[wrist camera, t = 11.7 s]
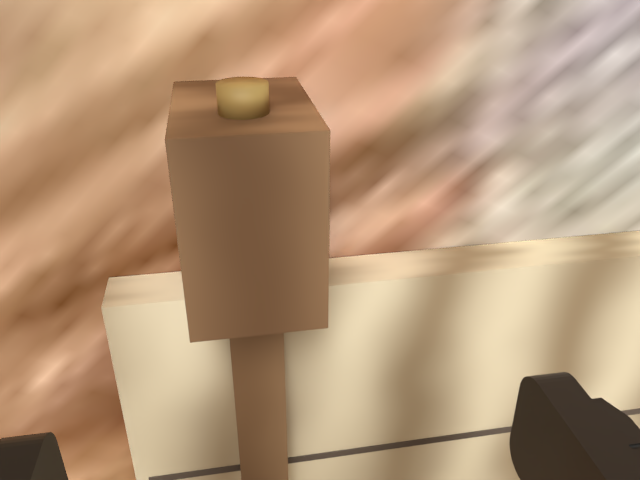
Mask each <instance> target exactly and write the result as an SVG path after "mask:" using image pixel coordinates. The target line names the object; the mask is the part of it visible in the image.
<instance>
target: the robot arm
mask: <svg viewBox="0 0 640 480" xmlns="http://www.w3.org/2000/svg"><path fill="white" fill-rule="evenodd" d="M509 444H510V454H511V458H512V462H513V465H514V468H515V470H516V473H517V475H518V477H519V478H520V480H640V428H639V427H638V426H637V425H636V424H635V423H634V421H633V420H632V419H631V418H630V417H629V416H627V415H626V414H625V413H623V412H622V411H620V410H619V409H617V408H616V407H614V406H613V405H611V404H610V403H608V402H607V401H606V400H604V399H603V398H594V399H591V398H590V396H589V395H588V394H587V393H586V391H585V390H584V389H583V388H582V386H581V385H580V384H579V383H578V381H577V380H576V379H575V378H574V377H573V376H572V375H571V374H570V373H568V372H559V373H550V374H542V375H534V376H526V377H524V378H523V379H522V381H521V383H520V387H519V392H518V397H517V402H516V408H515V413H514V418H513V423H512V428H511V433H510V442H509ZM0 480H68V477H67V474H66V470H65V467H64V463H63V460H62V457H61V453H60V450H59V446H58V443H57V440H56V437H55V435H54V434H53V433H51V432H48V433H40V434H32V435H24V436H15V437H7V438H2V439H0Z"/></svg>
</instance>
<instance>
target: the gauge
mask: <svg viewBox="0 0 640 480" xmlns="http://www.w3.org/2000/svg"><path fill="white" fill-rule="evenodd" d="M165 144H166V152H167V160H168V168H169V177H170V185H171V193H172V201H173V209H174V217H175V225H176V233H177V242H178V250H179V258H180V266H181V274H182V282H183V290H184V298H185V306H186V315H187V323H188V331H189V339H190V343H193V342H202V341H212V340H221V339H229V340H230V351H231V363H232V375H233V387H234V398H235V410H236V422H237V434H238V446H239V457H240V469H241V480H288V451H287V420H286V389H285V358H284V333H287V332H297V331H306V330H315V329H325V328H328V302H329V203H330V129H329V128H328V126H327V125H326V123H325V122H324V120H323V119H322V117H321V115H320V114H319V112H318V111H317V109H316V108H315V106H314V104H313V103H312V101H311V100H310V98H309V97H308V95H307V94H306V92H305V90H304V89H303V87H302V86H301V84H300V83H299V81H298V79H297V78H296V77H284V78H257V77H233V78H226V79H222V80H207V81H181V82H174V84H173V90H172V97H171V103H170V110H169V116H168V123H167V129H166V136H165Z"/></svg>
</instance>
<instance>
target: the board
mask: <svg viewBox="0 0 640 480" xmlns="http://www.w3.org/2000/svg"><path fill="white" fill-rule="evenodd" d="M101 309H102V314H103V319H104V323H105V328H106V333H107V338H108V343H109V348H110V353H111V358H112V363H113V368H114V373H115V378H116V383H117V387H118V392H119V397H120V402H121V407H122V412H123V417H124V422H125V427H126V432H127V437H128V442H129V446H130V451H131V456H132V461H133V466H134V471H135V476H136V480H241V469H240V457H239V446H238V434H237V422H236V410H235V398H234V387H233V375H232V363H231V351H230V340H229V339H221V340H212V341H202V342H193V343H190V339H189V331H188V323H187V315H186V306H185V298H184V290H183V282H182V274H181V271H180V272H168V273H157V274H146V275H135V276H123V277H112V278H109V279H108V283H107V287H106V291H105V295H104V299H103V303H102V307H101ZM284 358H285V389H286V420H287V451H288V480H520V478H519V477H518V475H517V473H516V470H515V468H514V465H513V462H512V458H511V454H510V444H509V442H510V433H511V428H512V423H513V418H514V413H515V408H516V402H517V397H518V392H519V387H520V383H521V381H522V379H523V378H524V377H526V376H534V375H542V374H550V373H559V372H568V373H570V374H571V375H572V376H573V377H574V378H575V379H576V380H577V381H578V383H579V384H580V385H581V386H582V388H583V389H584V390H585V391H586V393H587V394H588V395H589V396H590V398H591V399H594V398H603V399H604V400H606V401H607V402H608V403H610V404H611V405H613V406H614V407H616V408H617V409H619V410H620V411H622V412H623V413H625V414H626V415H627V416H629V417H630V418H631V419H632V420H633V421H634V423H635V424H636V425H637V426H638V427H639V428H640V231H631V232H620V233H609V234H597V235H586V236H575V237H563V238H552V239H541V240H530V241H518V242H507V243H496V244H484V245H473V246H462V247H451V248H439V249H428V250H417V251H405V252H394V253H383V254H372V255H360V256H349V257H338V258H329V302H328V328H325V329H315V330H306V331H297V332H287V333H284Z"/></svg>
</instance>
